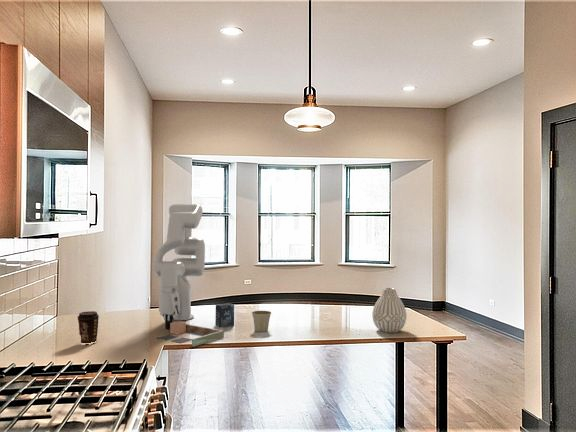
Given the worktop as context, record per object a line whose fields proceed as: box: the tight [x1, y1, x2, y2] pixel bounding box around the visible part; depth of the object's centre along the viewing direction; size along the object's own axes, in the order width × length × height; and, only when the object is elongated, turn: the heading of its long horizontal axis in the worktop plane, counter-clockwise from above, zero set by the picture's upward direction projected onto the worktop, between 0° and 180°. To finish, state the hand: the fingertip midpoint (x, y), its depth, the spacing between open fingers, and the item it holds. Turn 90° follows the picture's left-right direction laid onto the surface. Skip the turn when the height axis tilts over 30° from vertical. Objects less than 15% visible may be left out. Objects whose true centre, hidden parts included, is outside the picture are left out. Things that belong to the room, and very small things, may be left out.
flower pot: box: [251, 310, 272, 333], centre depth 238 cm, size 9×9×9 cm
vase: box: [371, 287, 408, 334], centre depth 238 cm, size 16×16×20 cm
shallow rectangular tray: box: [186, 323, 225, 348], centre depth 226 cm, size 33×19×3 cm, turn 56°
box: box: [214, 302, 235, 328], centre depth 248 cm, size 8×6×11 cm
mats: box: [157, 334, 193, 344], centre depth 222 cm, size 15×7×1 cm, turn 56°
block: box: [169, 320, 187, 335], centre depth 234 cm, size 5×5×4 cm
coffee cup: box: [77, 310, 100, 343], centre depth 214 cm, size 9×8×13 cm
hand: (168, 328), depth 236 cm, fingers closed
